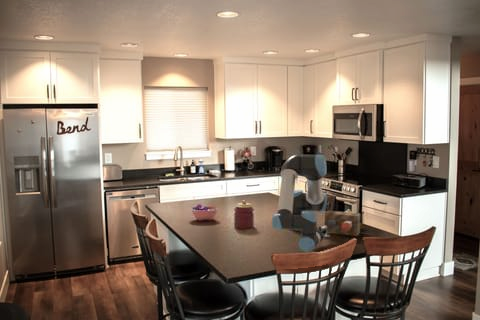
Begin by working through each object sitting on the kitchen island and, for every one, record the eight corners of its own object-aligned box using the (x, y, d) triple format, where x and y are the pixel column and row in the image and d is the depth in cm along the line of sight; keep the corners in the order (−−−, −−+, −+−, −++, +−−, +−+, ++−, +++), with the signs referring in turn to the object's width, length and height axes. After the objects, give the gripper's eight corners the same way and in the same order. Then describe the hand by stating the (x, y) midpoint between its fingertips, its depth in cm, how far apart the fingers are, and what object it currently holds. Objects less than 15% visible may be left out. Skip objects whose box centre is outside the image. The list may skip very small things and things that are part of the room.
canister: (236, 230, 273) (236, 202, 272) (231, 225, 286) (231, 199, 284) (256, 229, 277) (256, 201, 275) (250, 224, 289) (250, 198, 288)
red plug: (341, 231, 254) (341, 222, 254) (345, 226, 266) (346, 217, 265) (350, 232, 252) (350, 223, 252) (354, 227, 263) (354, 218, 263)
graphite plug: (327, 226, 265) (327, 218, 264) (332, 222, 276) (332, 214, 276) (335, 227, 263) (336, 219, 262) (340, 223, 274) (340, 214, 274)
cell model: (215, 223, 291) (215, 207, 290) (186, 222, 295) (186, 205, 294) (221, 218, 307) (221, 202, 306) (194, 217, 311) (194, 201, 310)
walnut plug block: (324, 232, 269) (324, 213, 268) (327, 229, 276) (328, 210, 275) (357, 235, 260) (357, 216, 259) (359, 232, 267) (360, 213, 266)
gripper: (301, 243, 232) (314, 233, 253) (326, 246, 226) (336, 235, 247) (302, 229, 231) (314, 220, 252) (326, 232, 226) (336, 222, 247)
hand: (325, 227), depth 250 cm, fingers closed
